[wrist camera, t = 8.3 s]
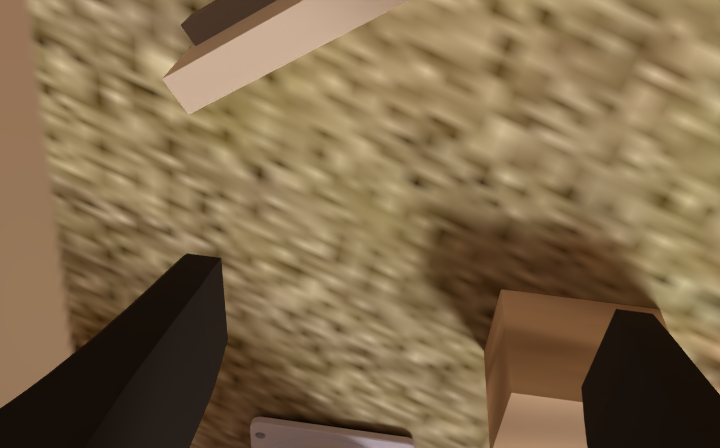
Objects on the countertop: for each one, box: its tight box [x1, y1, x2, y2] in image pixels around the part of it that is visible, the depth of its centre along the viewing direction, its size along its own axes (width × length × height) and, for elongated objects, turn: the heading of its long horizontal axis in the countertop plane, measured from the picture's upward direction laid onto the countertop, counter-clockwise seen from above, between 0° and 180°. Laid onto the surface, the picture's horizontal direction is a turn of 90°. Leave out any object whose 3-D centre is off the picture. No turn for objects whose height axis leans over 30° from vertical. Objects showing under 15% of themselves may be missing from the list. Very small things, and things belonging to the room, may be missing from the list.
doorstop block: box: [484, 289, 668, 448], centre depth 23 cm, size 4×6×5 cm, turn 86°
